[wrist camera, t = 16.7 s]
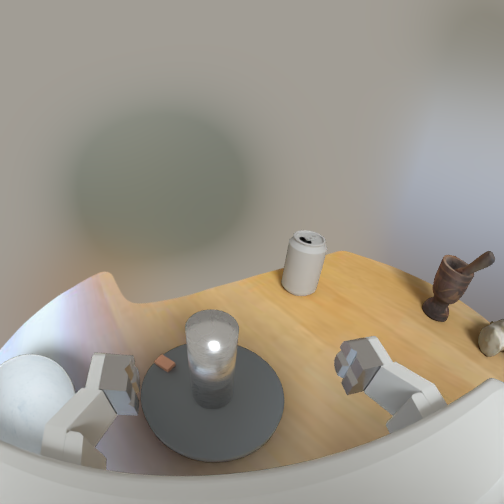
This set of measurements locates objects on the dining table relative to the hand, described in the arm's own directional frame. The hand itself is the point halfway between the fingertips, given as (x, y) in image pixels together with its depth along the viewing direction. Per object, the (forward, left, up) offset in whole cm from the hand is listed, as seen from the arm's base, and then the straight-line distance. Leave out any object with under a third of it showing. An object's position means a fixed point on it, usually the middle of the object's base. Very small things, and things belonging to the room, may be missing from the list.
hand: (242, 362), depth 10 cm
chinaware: (-10, +22, -26) cm, 35 cm away
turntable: (+9, +8, -24) cm, 27 cm away
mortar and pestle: (+49, -26, -26) cm, 62 cm away
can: (+41, +8, -26) cm, 49 cm away
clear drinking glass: (+9, +8, -22) cm, 25 cm away
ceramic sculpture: (+44, -43, -26) cm, 67 cm away
